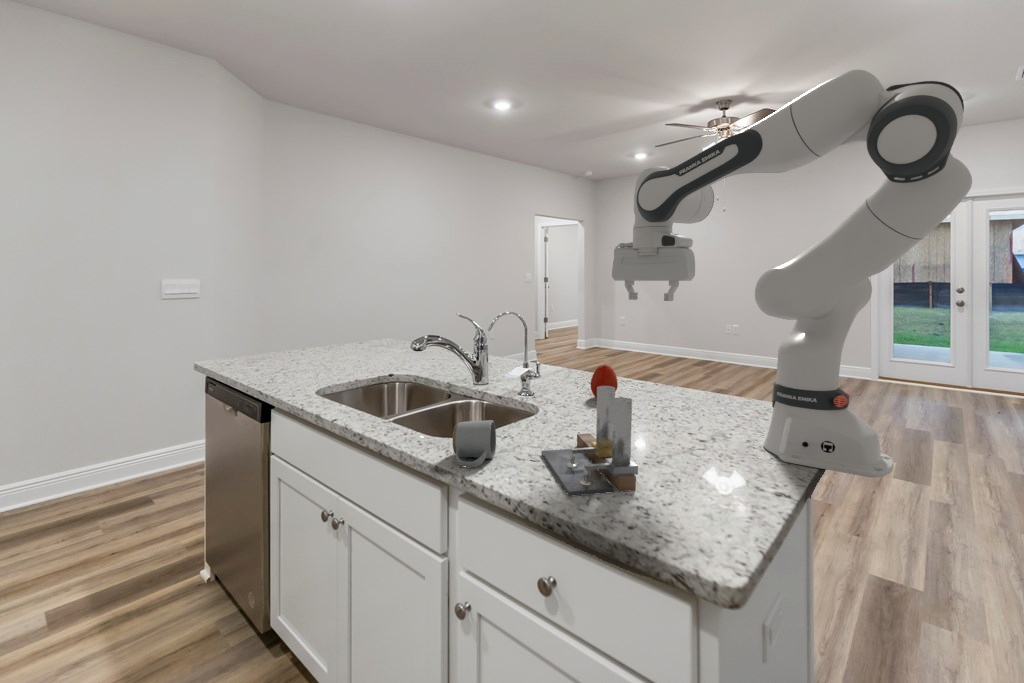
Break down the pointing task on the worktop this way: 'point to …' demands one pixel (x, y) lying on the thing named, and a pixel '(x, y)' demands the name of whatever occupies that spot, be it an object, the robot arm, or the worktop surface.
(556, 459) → the hole plate
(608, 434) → the sliding leg
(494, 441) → the ceramic mug
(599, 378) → the red egg shape
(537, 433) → the worktop surface
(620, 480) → the rail
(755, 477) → the worktop surface
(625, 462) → the fixed leg
